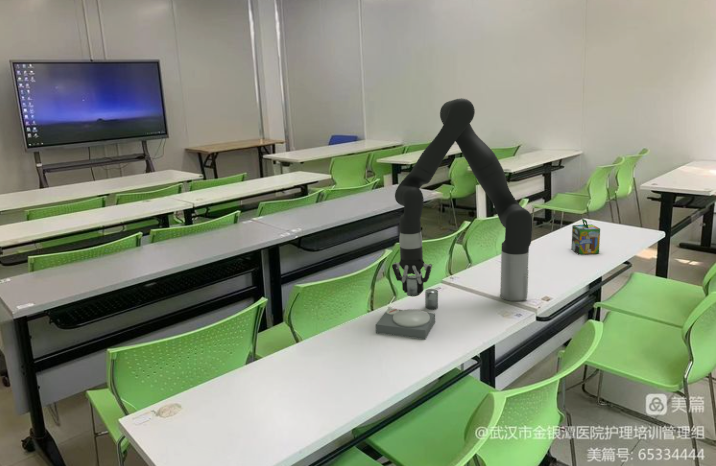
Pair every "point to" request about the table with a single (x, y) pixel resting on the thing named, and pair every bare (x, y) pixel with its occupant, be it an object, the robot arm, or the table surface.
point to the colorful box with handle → (585, 238)
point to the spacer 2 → (431, 299)
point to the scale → (406, 323)
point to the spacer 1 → (412, 286)
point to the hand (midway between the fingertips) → (413, 292)
